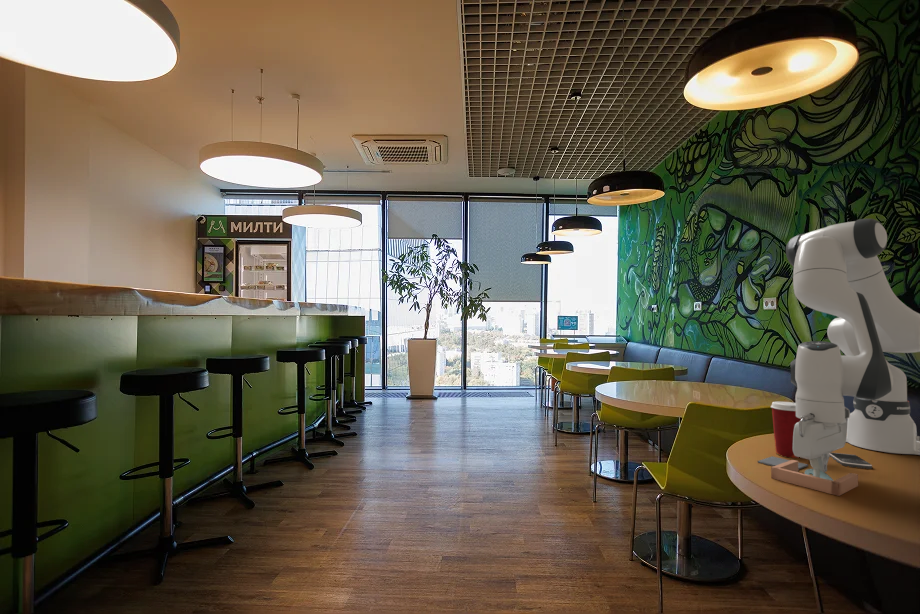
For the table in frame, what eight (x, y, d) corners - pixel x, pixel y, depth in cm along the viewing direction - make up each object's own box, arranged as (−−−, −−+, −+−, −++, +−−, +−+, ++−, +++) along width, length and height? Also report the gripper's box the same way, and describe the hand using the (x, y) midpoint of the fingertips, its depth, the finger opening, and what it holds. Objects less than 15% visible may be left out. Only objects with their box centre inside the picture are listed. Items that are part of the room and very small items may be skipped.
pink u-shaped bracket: (792, 469, 109) (792, 459, 109) (858, 485, 98) (857, 474, 98) (771, 478, 103) (771, 467, 103) (838, 496, 92) (838, 483, 92)
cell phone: (842, 468, 112) (842, 462, 112) (826, 456, 122) (826, 451, 123) (874, 471, 110) (873, 465, 110) (854, 459, 120) (854, 453, 120)
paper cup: (812, 460, 117) (811, 406, 118) (779, 458, 119) (778, 405, 119) (796, 451, 125) (795, 401, 125) (765, 450, 126) (765, 400, 127)
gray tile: (772, 457, 119) (772, 456, 119) (808, 466, 112) (808, 464, 112) (757, 462, 114) (757, 461, 114) (794, 471, 108) (794, 469, 108)
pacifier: (836, 483, 100) (803, 477, 104) (837, 455, 101) (803, 450, 104) (843, 493, 94) (807, 486, 97) (844, 463, 94) (808, 458, 97)
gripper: (817, 419, 95) (818, 484, 94) (852, 409, 106) (853, 468, 106) (783, 414, 100) (784, 476, 100) (820, 405, 111) (821, 461, 111)
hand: (820, 472), depth 103 cm, fingers closed
